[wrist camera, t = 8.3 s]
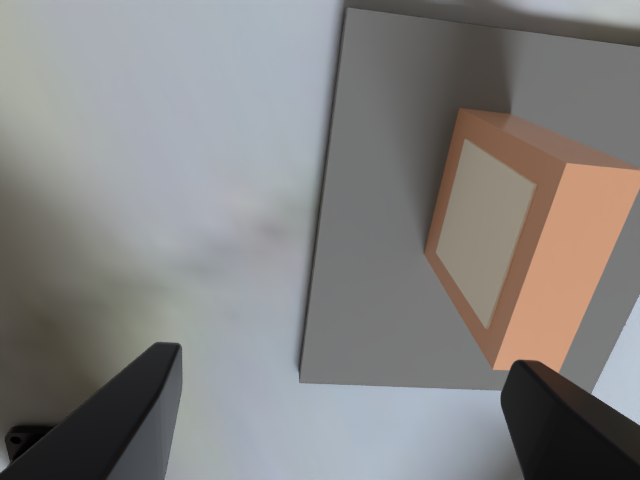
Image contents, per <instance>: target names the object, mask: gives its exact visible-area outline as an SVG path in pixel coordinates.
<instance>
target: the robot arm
mask: <svg viewBox="0 0 640 480" xmlns="http://www.w3.org/2000/svg"><path fill="white" fill-rule="evenodd" d="M181 391H182V347H181V345H180V344H179V343H171V342H157V343H154V344H153V345H152V346H151V347H149V348H148V349H147V350H146V351H145V352H143V353H142V354H141V355H140V356H139V357H137V358H136V359H135V360H134V361H133V362H132V363H130V364H129V365H128V366H127V367H126V368H124V369H123V370H122V371H121V372H120V373H118V374H117V375H116V376H115V377H114V378H113V379H111V380H110V381H109V382H108V383H107V384H105V385H104V386H103V387H102V388H101V389H99V390H98V391H97V392H96V393H95V394H94V395H92V396H91V397H90V398H89V399H88V400H86V401H85V402H84V403H83V404H82V405H80V406H79V407H78V408H77V409H76V410H74V411H73V412H72V413H71V414H70V415H69V416H67V417H66V418H65V419H64V420H63V421H61V422H60V423H59V424H58V425H57V426H55V427H35V426H15V427H12V428H11V429H10V430H9V432H8V433H7V435H6V436H5V443H6V447H7V451H8V455H9V459H10V463H9V465H8V466H7V468H6V469H4V470H3V471H2V472H1V473H0V480H164V478H165V474H166V469H167V465H168V459H169V454H170V449H171V444H172V439H173V433H174V428H175V423H176V418H177V413H178V408H179V402H180V397H181ZM501 407H502V410H503V413H504V416H505V420H506V423H507V426H508V429H509V432H510V436H511V439H512V442H513V445H514V448H515V451H516V455H517V458H518V461H519V464H520V467H521V470H522V474H523V477H524V479H525V480H640V425H638V424H637V423H635V422H634V421H632V420H630V419H629V418H627V417H626V416H624V415H623V414H621V413H620V412H618V411H616V410H615V409H613V408H612V407H610V406H609V405H607V404H605V403H604V402H602V401H601V400H599V399H598V398H596V397H595V396H593V395H591V394H590V393H588V392H587V391H585V390H584V389H582V388H581V387H579V386H577V385H576V384H574V383H573V382H571V381H570V380H568V379H567V378H565V377H563V376H562V375H560V374H559V373H557V372H556V371H554V370H553V369H551V368H549V367H548V366H546V365H545V364H543V363H542V362H540V361H537V360H522V359H519V360H516V361H515V362H514V363H513V364H512V366H511V368H510V371H509V373H508V376H507V379H506V381H505V384H504V386H503V389H502V392H501Z"/></svg>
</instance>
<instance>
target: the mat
mask: <svg viewBox="0 0 640 480" xmlns="http://www.w3.org/2000/svg"><path fill="white" fill-rule="evenodd" d="M459 108H464V109H473V110H482V111H490V112H499V113H508V114H513V115H515V116H517V117H520V118H522V119H525V120H527V121H529V122H532V123H534V124H536V125H539V126H541V127H544V128H546V129H548V130H551V131H553V132H555V133H558V134H560V135H563V136H565V137H567V138H570V139H572V140H574V141H577V142H579V143H582V144H584V145H586V146H589V147H591V148H593V149H596V150H598V151H601V152H603V153H605V154H608V155H610V156H612V157H615V158H617V159H620V160H622V161H624V162H627V163H629V164H631V165H634V166H636V167H638V168H640V47H636V46H629V45H622V44H614V43H607V42H599V41H592V40H585V39H577V38H570V37H563V36H555V35H548V34H540V33H533V32H526V31H518V30H511V29H504V28H496V27H489V26H481V25H474V24H467V23H459V22H452V21H445V20H437V19H430V18H422V17H415V16H408V15H400V14H393V13H386V12H378V11H371V10H364V9H356V8H349V7H347V8H345V16H344V24H343V32H342V40H341V48H340V55H339V63H338V71H337V79H336V87H335V95H334V103H333V111H332V119H331V126H330V134H329V142H328V150H327V158H326V166H325V174H324V182H323V190H322V197H321V205H320V213H319V221H318V229H317V237H316V245H315V253H314V261H313V268H312V276H311V284H310V292H309V300H308V308H307V316H306V324H305V332H304V339H303V347H302V355H301V363H300V371H299V383H313V384H339V385H366V386H393V387H419V388H446V389H472V390H499V391H502V389H503V386H504V384H505V381H506V379H507V376H508V373H509V371H510V370H492V368H491V366H490V365H489V363H488V361H487V359H486V358H485V356H484V354H483V353H482V351H481V349H480V348H479V346H478V344H477V343H476V341H475V339H474V338H473V336H472V334H471V333H470V331H469V329H468V328H467V326H466V324H465V323H464V321H463V319H462V318H461V316H460V314H459V313H458V311H457V309H456V308H455V306H454V304H453V302H452V301H451V299H450V297H449V296H448V294H447V292H446V291H445V289H444V287H443V286H442V284H441V282H440V281H439V279H438V277H437V276H436V274H435V272H434V271H433V269H432V267H431V266H430V264H429V262H428V261H427V259H426V257H425V256H424V251H425V247H426V243H427V239H428V235H429V231H430V226H431V222H432V218H433V214H434V210H435V206H436V202H437V198H438V194H439V189H440V185H441V181H442V177H443V173H444V169H445V165H446V161H447V156H448V152H449V148H450V144H451V140H452V136H453V132H454V128H455V124H456V119H457V115H458V111H459ZM639 295H640V189H639V191H638V193H637V196H636V198H635V200H634V202H633V205H632V207H631V209H630V212H629V214H628V216H627V218H626V221H625V223H624V225H623V227H622V230H621V232H620V234H619V237H618V239H617V241H616V243H615V246H614V248H613V250H612V252H611V255H610V257H609V259H608V262H607V264H606V266H605V268H604V271H603V273H602V275H601V278H600V280H599V282H598V284H597V287H596V289H595V291H594V293H593V296H592V298H591V300H590V303H589V305H588V307H587V309H586V312H585V314H584V316H583V318H582V321H581V323H580V325H579V328H578V330H577V332H576V334H575V337H574V339H573V341H572V344H571V346H570V348H569V350H568V353H567V355H566V357H565V359H564V362H563V364H562V366H561V369H560V371H559V374H560V375H562V376H563V377H565V378H567V379H568V380H570V381H571V382H573V383H574V384H576V385H577V386H579V387H581V388H582V389H584V390H585V391H587V392H588V393H590V394H591V393H592V391H593V389H594V387H595V385H596V383H597V380H598V378H599V376H600V374H601V372H602V370H603V368H604V366H605V364H606V362H607V360H608V358H609V356H610V354H611V352H612V350H613V348H614V346H615V344H616V342H617V340H618V338H619V336H620V334H621V331H622V329H623V327H624V325H625V323H626V321H627V319H628V317H629V315H630V313H631V311H632V309H633V307H634V305H635V303H636V301H637V299H638V297H639Z"/></svg>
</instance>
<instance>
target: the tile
mask: <svg viewBox="0 0 640 480" xmlns="http://www.w3.org/2000/svg"><path fill="white" fill-rule="evenodd" d="M639 189H640V168H638V167H636V166H634V165H631V164H629V163H627V162H624V161H622V160H620V159H617V158H615V157H612V156H610V155H608V154H605V153H603V152H601V151H598V150H596V149H593V148H591V147H589V146H586V145H584V144H582V143H579V142H577V141H574V140H572V139H570V138H567V137H565V136H563V135H560V134H558V133H555V132H553V131H551V130H548V129H546V128H544V127H541V126H539V125H536V124H534V123H532V122H529V121H527V120H525V119H522V118H520V117H517V116H515V115H513V114H508V113H499V112H490V111H482V110H473V109H464V108H459V111H458V115H457V119H456V124H455V128H454V132H453V136H452V140H451V144H450V148H449V152H448V156H447V161H446V165H445V169H444V173H443V177H442V181H441V185H440V189H439V194H438V198H437V202H436V206H435V210H434V214H433V218H432V222H431V226H430V231H429V235H428V239H427V243H426V247H425V251H424V256H425V257H426V259H427V261H428V262H429V264H430V266H431V267H432V269H433V271H434V272H435V274H436V276H437V277H438V279H439V281H440V282H441V284H442V286H443V287H444V289H445V291H446V292H447V294H448V296H449V297H450V299H451V301H452V302H453V304H454V306H455V308H456V309H457V311H458V313H459V314H460V316H461V318H462V319H463V321H464V323H465V324H466V326H467V328H468V329H469V331H470V333H471V334H472V336H473V338H474V339H475V341H476V343H477V344H478V346H479V348H480V349H481V351H482V353H483V354H484V356H485V358H486V359H487V361H488V363H489V365H490V366H491V368H492V370H510V368H511V366H512V364H513V363H514V362H515V361H516V360H519V359H522V360H537V361H540V362H542V363H543V364H545V365H546V366H548V367H549V368H551V369H553V370H554V371H556V372H557V373H559V371H560V369H561V366H562V364H563V362H564V359H565V357H566V355H567V353H568V350H569V348H570V346H571V344H572V341H573V339H574V337H575V334H576V332H577V330H578V328H579V325H580V323H581V321H582V318H583V316H584V314H585V312H586V309H587V307H588V305H589V303H590V300H591V298H592V296H593V293H594V291H595V289H596V287H597V284H598V282H599V280H600V278H601V275H602V273H603V271H604V268H605V266H606V264H607V262H608V259H609V257H610V255H611V252H612V250H613V248H614V246H615V243H616V241H617V239H618V237H619V234H620V232H621V230H622V227H623V225H624V223H625V221H626V218H627V216H628V214H629V212H630V209H631V207H632V205H633V202H634V200H635V198H636V196H637V193H638V191H639Z"/></svg>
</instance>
